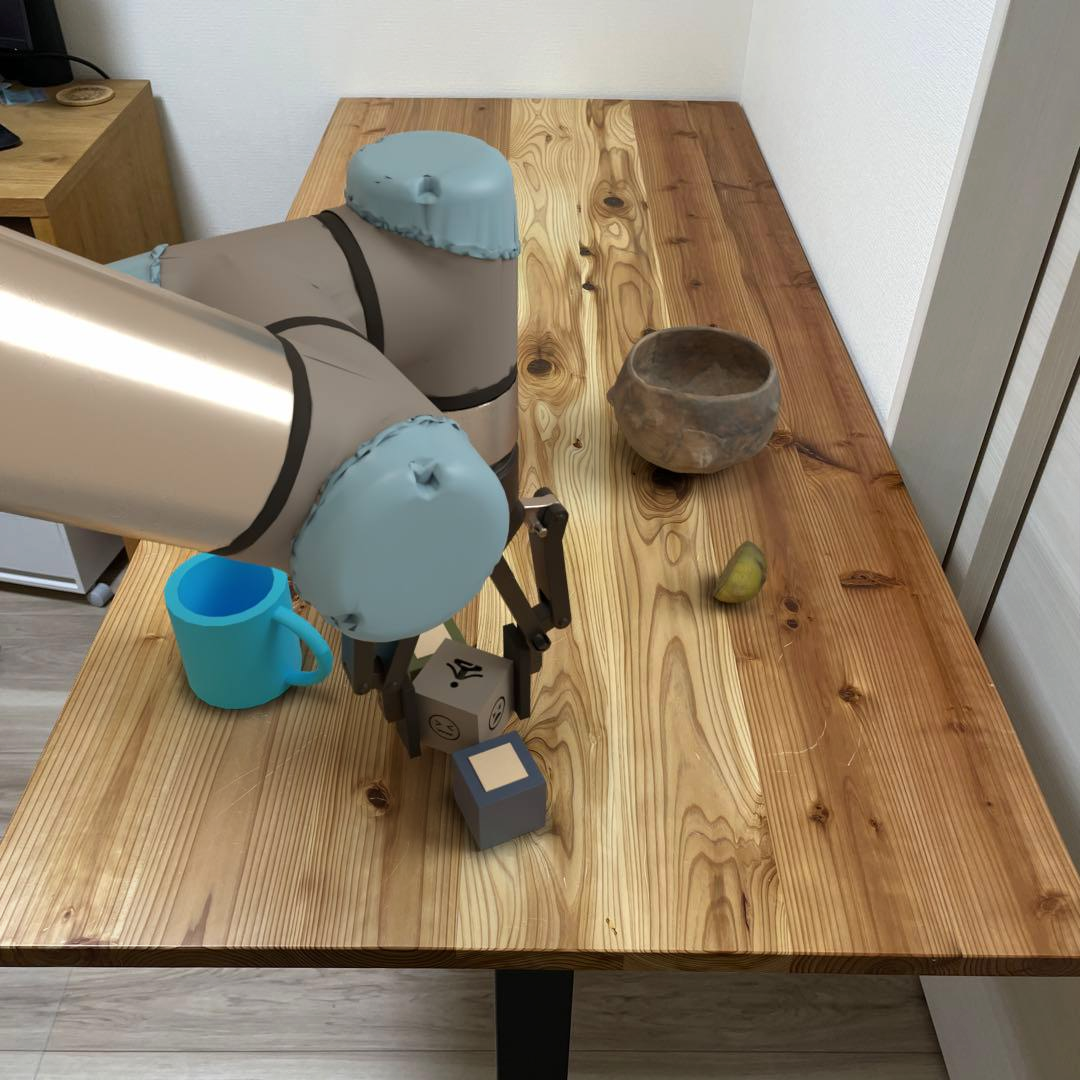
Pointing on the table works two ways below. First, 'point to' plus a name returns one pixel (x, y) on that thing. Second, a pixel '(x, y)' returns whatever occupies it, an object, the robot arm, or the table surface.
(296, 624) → the mug
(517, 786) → the block
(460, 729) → the dice cube
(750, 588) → the lime
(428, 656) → the block
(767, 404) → the bowl
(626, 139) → the table surface
